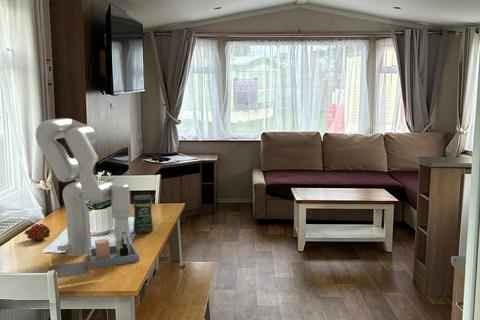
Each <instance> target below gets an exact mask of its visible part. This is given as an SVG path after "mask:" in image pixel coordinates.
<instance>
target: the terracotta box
mask: <svg viewBox="0 0 480 320" xmlns="http://www.w3.org/2000/svg"><path fill="white" fill-rule="evenodd" d="M94 245H95V246H94V247H95V248H96V259H97V260H101V259H108V258H110V249H109V246H110V241H109V239H108V238H103V239H102V238H101V239H95V241H94Z"/></svg>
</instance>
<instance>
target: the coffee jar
mask: <svg viewBox="0 0 480 320" xmlns="http://www.w3.org/2000/svg"><path fill="white" fill-rule="evenodd" d="M152 205H153V199H152V195H151V194H138V195H136V194H135V195H134V196H133V198H132V206H133V208H134V210H133V211H134V218H133V219H134V220H133V231H134V233H136V234H145V233H151V232H153V230H154V224H153V216H152Z"/></svg>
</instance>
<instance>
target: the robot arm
mask: <svg viewBox="0 0 480 320" xmlns="http://www.w3.org/2000/svg"><path fill="white" fill-rule="evenodd" d="M96 133H97V132H96V131H95V129H93V127H91V126H89V125H87V124H85V123H82V122H79V121H77V120H74V119H72V118H69V117H66V118H65V117H64V118H63V117H62V118H54V119H48V120H44V121H42V122H40V124H38V126H37V127H36V130H35V141H36V143H37V145H38V147H39V148H40V150H41V152H42V153H43V154H44V156H45V158H46V160H47V162H48V165H49V166H50V167H51V170H52V171H53V173H54V175H55V177H56V178H57V180H58V181H59V182H62V183H65V182H71V181H73V182H71V183H69V184H67V185H66V186H65V187H64V188H63V190H62V199H63V203H64V207H65V215H66V227H67V242H66V244H64V245H57V246H56V247H57V248H56V249H57V251H60V252H64V253H65V255H67V256H71V257H81V256H86V255H87V256H88V249H93V248H96V246H93V245H92V236H91V232H90V227H91V219H90V211H89V208H88V206H87V204H86V202H87V201H89V202H91V203H93V204H100V203H103V202H105V201H109V200H111V218H112V219H113V230H114V232H113V233H114V238H115V241H116V240H117V242H119V241H120V244H121V248H120V256H121V257H122V256H128V243H127V241H128V240H129V239H130V226H129V225H130V224H129V218H130V217H131V214H132V213H131V196H130V195H131V193H130V185H128V184H127V183H122V182H121V183H117V182H113V181H110V180H109V181H104V182H101V183H99V182H98V180H97V178H96V176H95V174H94V166H95V164H96V163H97V162H98V160H99V156H98V154H97V153H96V151H95V148H94V146H93V144H95V143H96V141H97V134H96ZM57 139H58V140H59V139H64V140H65V142H66V145H67V146H68V148H69V150H70V151H71V153H72V156H73V157H70V156H69V154H68V152H67V150H66V148H65V147H64V146H63V144H61V143H60V142H58V141H57ZM74 180H75V181H74ZM122 239H123V241H121V240H122ZM122 242H123V244H122Z"/></svg>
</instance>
